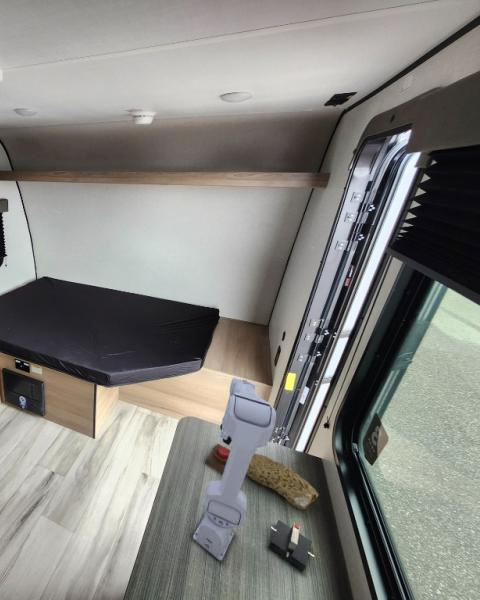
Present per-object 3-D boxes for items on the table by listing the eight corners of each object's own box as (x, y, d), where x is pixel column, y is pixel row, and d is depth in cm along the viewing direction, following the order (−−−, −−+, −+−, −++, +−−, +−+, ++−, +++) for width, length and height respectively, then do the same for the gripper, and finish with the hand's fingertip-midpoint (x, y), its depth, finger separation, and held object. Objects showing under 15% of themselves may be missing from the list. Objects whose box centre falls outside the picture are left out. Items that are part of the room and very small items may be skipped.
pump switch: (225, 476, 104) (228, 468, 103) (205, 463, 109) (207, 455, 107) (236, 458, 111) (238, 451, 110) (216, 446, 115) (218, 439, 114)
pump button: (226, 460, 106) (227, 456, 106) (215, 454, 109) (216, 450, 108) (230, 454, 109) (231, 450, 108) (219, 448, 111) (220, 444, 110)
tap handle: (293, 552, 81) (297, 544, 79) (286, 549, 82) (291, 540, 80) (296, 534, 85) (300, 525, 84) (290, 530, 86) (294, 521, 85)
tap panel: (306, 580, 78) (310, 573, 77) (262, 548, 84) (265, 541, 83) (313, 548, 85) (317, 541, 84) (272, 520, 91) (275, 513, 90)
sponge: (313, 500, 99) (257, 447, 112) (325, 490, 94) (265, 436, 107) (288, 525, 94) (233, 466, 107) (299, 516, 89) (240, 456, 102)
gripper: (240, 430, 94) (230, 462, 99) (255, 406, 103) (245, 437, 109) (217, 418, 98) (209, 449, 103) (233, 396, 108) (225, 426, 113)
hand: (226, 442), depth 106 cm, fingers closed
